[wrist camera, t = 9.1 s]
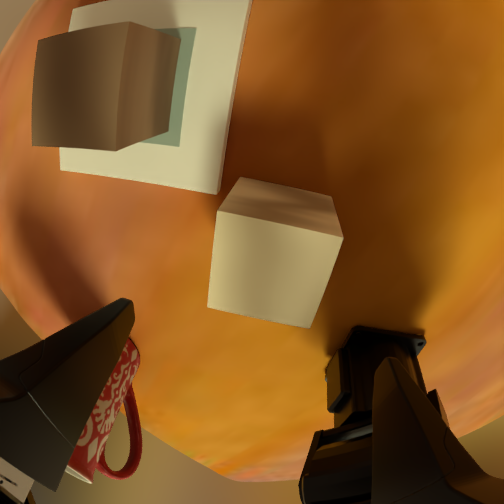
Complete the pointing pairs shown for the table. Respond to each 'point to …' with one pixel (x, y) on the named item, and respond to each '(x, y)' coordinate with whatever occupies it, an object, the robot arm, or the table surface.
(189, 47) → the plate
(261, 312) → the maple cube
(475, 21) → the table surface
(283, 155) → the table surface
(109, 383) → the mug
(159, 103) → the walnut cube
